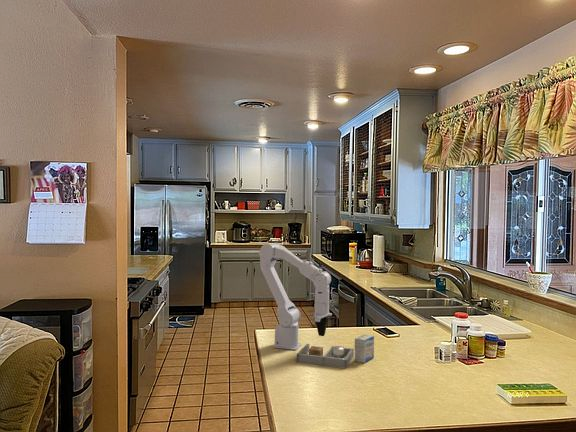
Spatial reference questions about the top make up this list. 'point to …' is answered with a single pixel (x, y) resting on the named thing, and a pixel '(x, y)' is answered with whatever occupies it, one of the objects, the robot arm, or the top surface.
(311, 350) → the block
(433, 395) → the top surface
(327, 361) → the housing
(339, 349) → the silver metal cylinder
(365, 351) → the medicine box
